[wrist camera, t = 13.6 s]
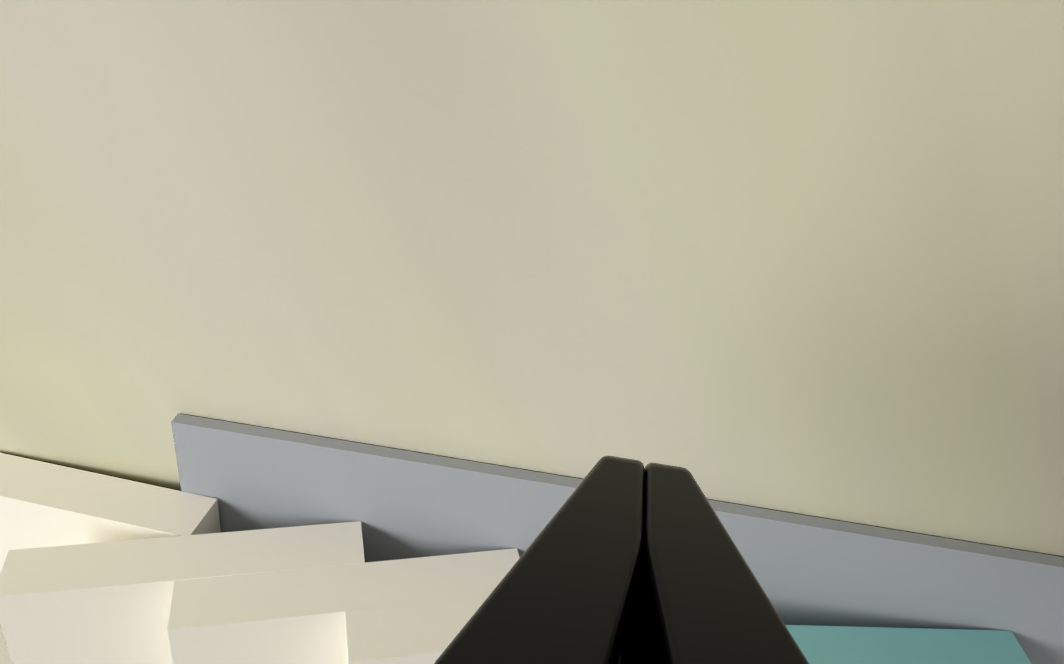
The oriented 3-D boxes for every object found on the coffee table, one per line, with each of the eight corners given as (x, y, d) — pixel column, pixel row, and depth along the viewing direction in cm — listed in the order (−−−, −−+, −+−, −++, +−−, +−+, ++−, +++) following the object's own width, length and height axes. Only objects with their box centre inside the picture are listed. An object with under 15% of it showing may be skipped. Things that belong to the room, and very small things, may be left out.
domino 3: (529, 591, 24) (167, 630, 22) (513, 711, 27) (188, 756, 25) (516, 548, 25) (174, 580, 23) (503, 666, 28) (193, 705, 26)
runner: (1151, 571, 23) (1158, 583, 23) (1010, 801, 28) (1015, 813, 28) (177, 413, 25) (171, 422, 25) (211, 655, 30) (206, 664, 30)
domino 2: (364, 562, 24) (-8, 597, 22) (364, 683, 27) (30, 725, 25) (361, 521, 26) (8, 550, 24) (361, 640, 28) (43, 676, 26)
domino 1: (188, 537, 25) (-108, 472, 26) (205, 659, 27) (-65, 596, 28) (217, 498, 26) (-66, 438, 27) (231, 619, 29) (-28, 560, 30)
